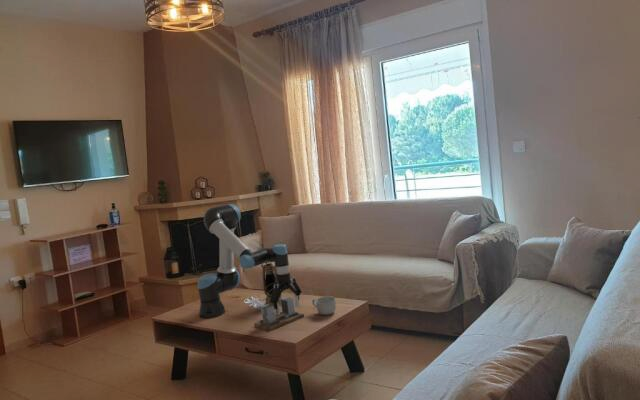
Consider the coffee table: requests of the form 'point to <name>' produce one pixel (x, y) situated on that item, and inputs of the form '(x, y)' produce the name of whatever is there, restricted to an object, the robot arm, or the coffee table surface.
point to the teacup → (325, 305)
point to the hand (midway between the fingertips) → (288, 310)
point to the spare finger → (287, 306)
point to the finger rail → (275, 318)
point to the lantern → (269, 282)
